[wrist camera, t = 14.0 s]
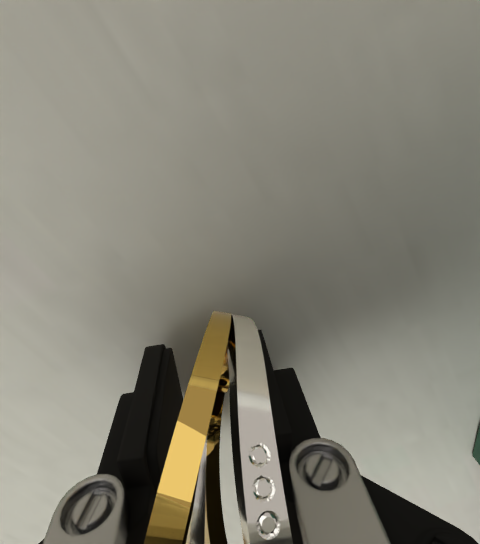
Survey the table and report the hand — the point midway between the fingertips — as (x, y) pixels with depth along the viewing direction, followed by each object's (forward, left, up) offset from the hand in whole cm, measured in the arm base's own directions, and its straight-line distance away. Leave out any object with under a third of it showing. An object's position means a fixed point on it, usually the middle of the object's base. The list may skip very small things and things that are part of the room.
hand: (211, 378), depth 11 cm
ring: (0, 0, -1) cm, 1 cm away
